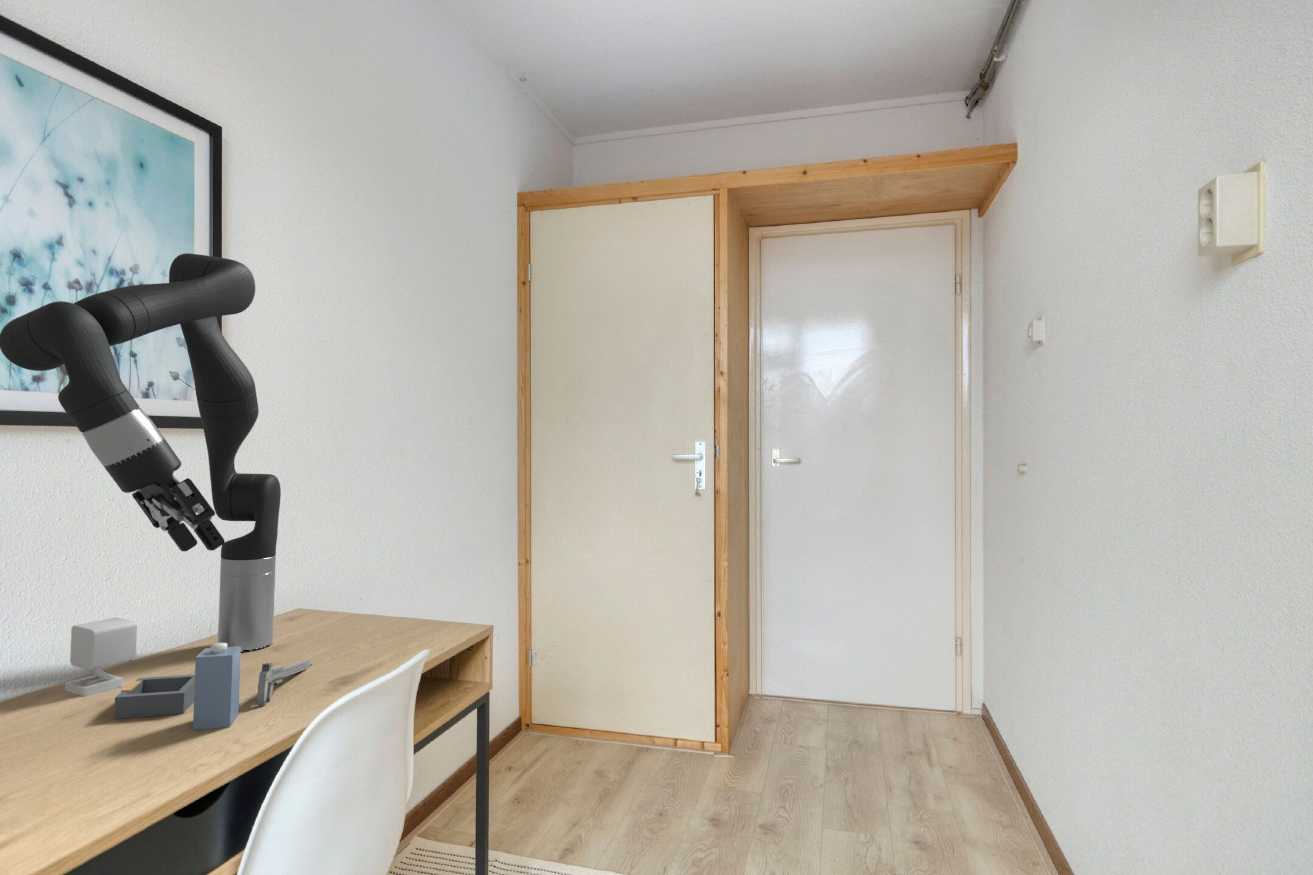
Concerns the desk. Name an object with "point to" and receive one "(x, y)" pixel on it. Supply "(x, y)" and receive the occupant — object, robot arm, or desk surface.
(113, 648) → the security camera
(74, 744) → the desk surface
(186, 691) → the pocket plate
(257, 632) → the robot arm
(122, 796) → the desk surface
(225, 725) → the blue gray block
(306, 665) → the caliper
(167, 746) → the desk surface
